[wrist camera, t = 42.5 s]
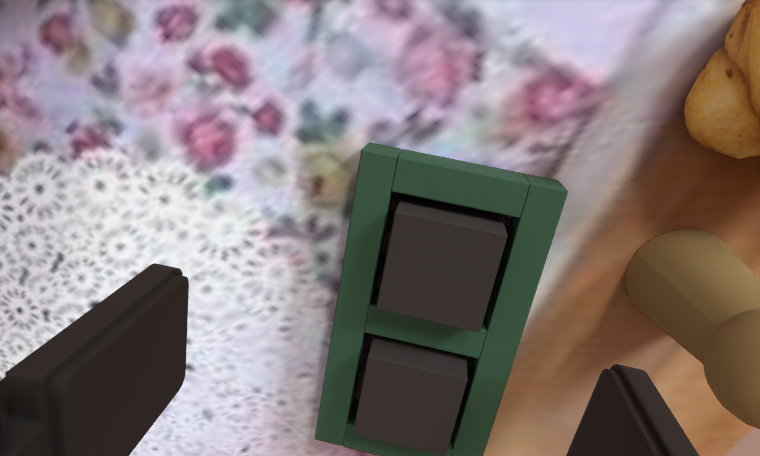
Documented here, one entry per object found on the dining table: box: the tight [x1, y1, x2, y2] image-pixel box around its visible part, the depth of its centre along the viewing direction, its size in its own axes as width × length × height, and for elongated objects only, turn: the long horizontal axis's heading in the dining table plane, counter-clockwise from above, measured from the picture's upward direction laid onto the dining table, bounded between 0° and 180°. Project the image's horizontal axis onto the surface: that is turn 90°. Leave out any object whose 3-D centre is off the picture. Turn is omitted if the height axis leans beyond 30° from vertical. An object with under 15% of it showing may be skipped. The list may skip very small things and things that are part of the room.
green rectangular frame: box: [315, 143, 568, 456], centre depth 31 cm, size 11×20×2 cm, turn 170°
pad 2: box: [353, 335, 468, 456], centre depth 31 cm, size 6×6×4 cm
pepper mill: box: [625, 229, 760, 429], centre depth 23 cm, size 6×6×11 cm
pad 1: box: [376, 194, 507, 332], centre depth 28 cm, size 6×6×4 cm
